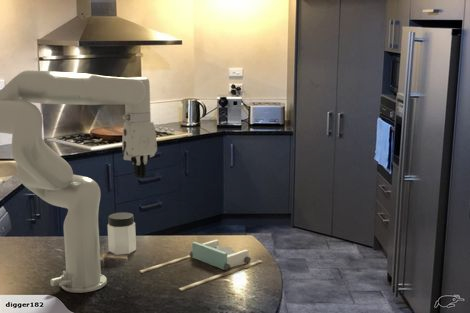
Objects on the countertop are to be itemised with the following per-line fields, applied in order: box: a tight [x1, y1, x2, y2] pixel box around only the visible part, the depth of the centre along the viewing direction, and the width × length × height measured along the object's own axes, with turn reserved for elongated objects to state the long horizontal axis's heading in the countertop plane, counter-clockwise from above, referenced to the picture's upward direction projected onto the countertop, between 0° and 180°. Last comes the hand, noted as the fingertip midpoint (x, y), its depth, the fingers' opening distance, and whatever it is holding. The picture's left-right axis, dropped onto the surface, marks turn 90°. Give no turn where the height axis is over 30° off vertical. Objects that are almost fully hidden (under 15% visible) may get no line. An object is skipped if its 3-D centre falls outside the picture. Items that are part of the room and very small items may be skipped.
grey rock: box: [215, 245, 236, 255], centre depth 196 cm, size 10×6×6 cm, turn 11°
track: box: [139, 254, 263, 292], centre depth 191 cm, size 32×20×1 cm, turn 133°
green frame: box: [189, 239, 252, 272], centre depth 195 cm, size 11×17×5 cm, turn 43°
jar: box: [107, 212, 137, 256], centre depth 205 cm, size 9×8×12 cm
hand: (140, 176), depth 193 cm, fingers closed
